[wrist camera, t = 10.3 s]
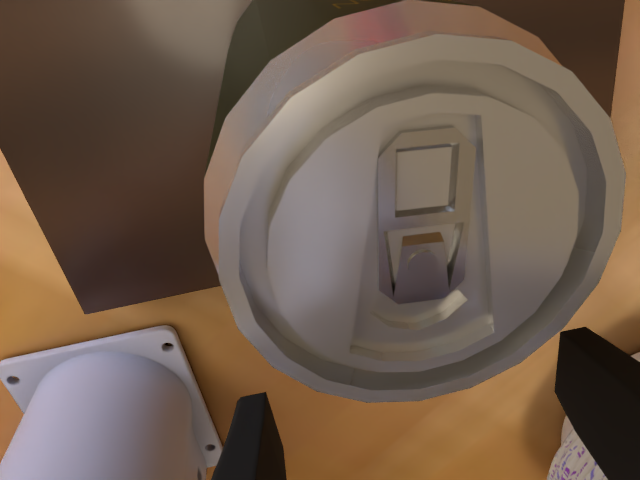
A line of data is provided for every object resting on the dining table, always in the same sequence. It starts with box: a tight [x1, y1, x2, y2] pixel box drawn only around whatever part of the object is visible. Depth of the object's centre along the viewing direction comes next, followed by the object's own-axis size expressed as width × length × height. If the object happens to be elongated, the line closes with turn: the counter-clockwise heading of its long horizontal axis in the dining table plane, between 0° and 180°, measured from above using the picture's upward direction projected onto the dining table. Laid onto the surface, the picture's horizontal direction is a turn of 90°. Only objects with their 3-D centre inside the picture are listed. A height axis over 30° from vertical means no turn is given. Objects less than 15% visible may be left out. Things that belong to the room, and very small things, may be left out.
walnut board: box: [0, 0, 625, 314], centre depth 17 cm, size 15×21×2 cm
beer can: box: [204, 0, 626, 403], centre depth 11 cm, size 5×5×12 cm
